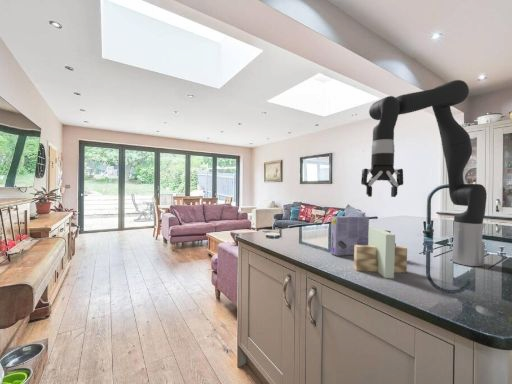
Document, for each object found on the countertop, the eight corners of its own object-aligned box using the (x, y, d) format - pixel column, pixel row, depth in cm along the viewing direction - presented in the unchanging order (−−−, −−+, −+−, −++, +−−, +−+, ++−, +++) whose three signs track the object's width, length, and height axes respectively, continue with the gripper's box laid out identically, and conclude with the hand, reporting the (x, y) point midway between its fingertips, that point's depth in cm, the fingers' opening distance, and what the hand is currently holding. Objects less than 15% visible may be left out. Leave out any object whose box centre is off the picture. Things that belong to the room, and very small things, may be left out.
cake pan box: (363, 251, 123) (364, 215, 123) (370, 253, 119) (371, 216, 118) (329, 253, 117) (330, 216, 117) (336, 256, 112) (337, 217, 112)
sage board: (375, 263, 103) (376, 227, 102) (393, 278, 87) (395, 234, 86) (367, 263, 103) (368, 227, 102) (384, 277, 87) (386, 234, 86)
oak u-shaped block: (402, 270, 96) (403, 246, 95) (406, 272, 93) (407, 248, 92) (353, 268, 97) (354, 244, 97) (356, 270, 94) (356, 246, 94)
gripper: (397, 154, 97) (396, 196, 97) (359, 154, 98) (358, 196, 98) (407, 151, 89) (406, 197, 90) (366, 151, 90) (365, 196, 91)
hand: (381, 196), depth 94 cm, fingers open, 8 cm apart
